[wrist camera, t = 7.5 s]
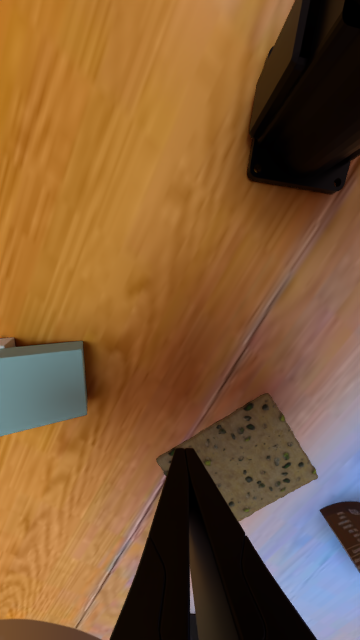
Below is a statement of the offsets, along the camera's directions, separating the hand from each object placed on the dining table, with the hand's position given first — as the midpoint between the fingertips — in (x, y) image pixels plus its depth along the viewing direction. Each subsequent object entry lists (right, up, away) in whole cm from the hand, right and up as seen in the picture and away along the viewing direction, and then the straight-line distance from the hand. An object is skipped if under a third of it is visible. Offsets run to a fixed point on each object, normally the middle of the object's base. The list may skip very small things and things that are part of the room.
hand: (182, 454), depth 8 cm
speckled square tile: (+6, -8, +10) cm, 14 cm away
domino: (-7, +2, +5) cm, 9 cm away
